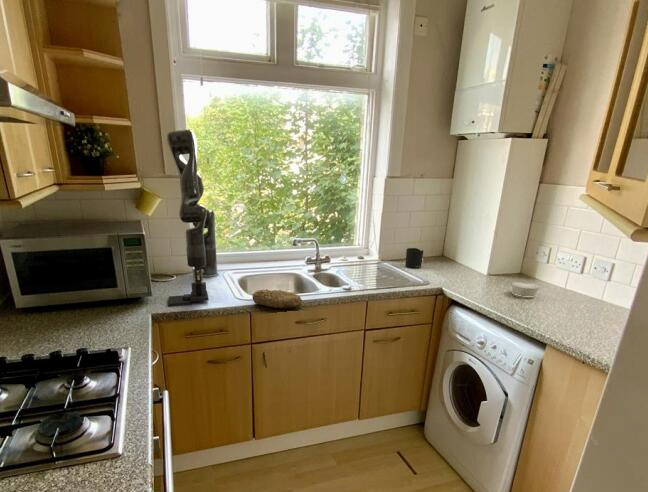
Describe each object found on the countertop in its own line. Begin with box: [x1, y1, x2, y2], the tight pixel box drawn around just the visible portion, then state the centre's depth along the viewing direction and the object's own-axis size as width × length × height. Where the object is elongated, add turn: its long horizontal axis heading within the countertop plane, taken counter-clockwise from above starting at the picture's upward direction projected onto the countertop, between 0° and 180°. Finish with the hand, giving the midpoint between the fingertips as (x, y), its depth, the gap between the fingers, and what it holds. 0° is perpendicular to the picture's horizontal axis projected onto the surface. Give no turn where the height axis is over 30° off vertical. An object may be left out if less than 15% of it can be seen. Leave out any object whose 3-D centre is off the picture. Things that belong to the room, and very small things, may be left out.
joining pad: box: [183, 281, 210, 303], centre depth 178 cm, size 10×10×6 cm
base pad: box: [167, 294, 192, 307], centre depth 178 cm, size 10×9×1 cm
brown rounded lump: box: [251, 289, 303, 309], centre depth 174 cm, size 13×8×20 cm
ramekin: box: [511, 281, 540, 299], centre depth 193 cm, size 11×11×5 cm
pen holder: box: [405, 247, 424, 270], centre depth 239 cm, size 9×9×10 cm
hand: (199, 293), depth 179 cm, fingers closed on joining pad
